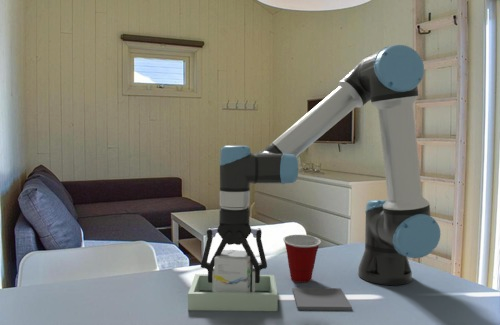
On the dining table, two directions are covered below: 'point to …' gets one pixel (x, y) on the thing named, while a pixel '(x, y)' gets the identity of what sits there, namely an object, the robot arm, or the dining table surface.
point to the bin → (233, 296)
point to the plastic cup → (301, 256)
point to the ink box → (233, 272)
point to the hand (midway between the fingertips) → (233, 295)
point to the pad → (320, 299)
